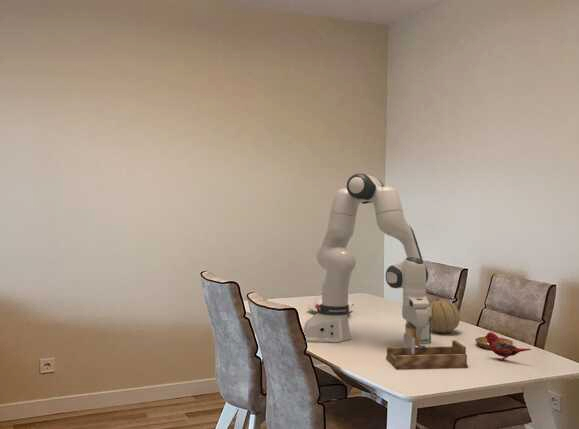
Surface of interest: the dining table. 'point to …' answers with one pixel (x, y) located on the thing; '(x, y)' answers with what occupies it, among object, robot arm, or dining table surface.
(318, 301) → the crumpled cloth
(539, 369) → the dining table surface
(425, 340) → the syrup box
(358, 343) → the dining table surface
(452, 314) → the cantaloupe
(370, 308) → the dining table surface
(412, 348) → the pusher
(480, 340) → the plant saucer
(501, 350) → the decorative bird figurine
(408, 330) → the jar
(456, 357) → the shallow wooden crate
